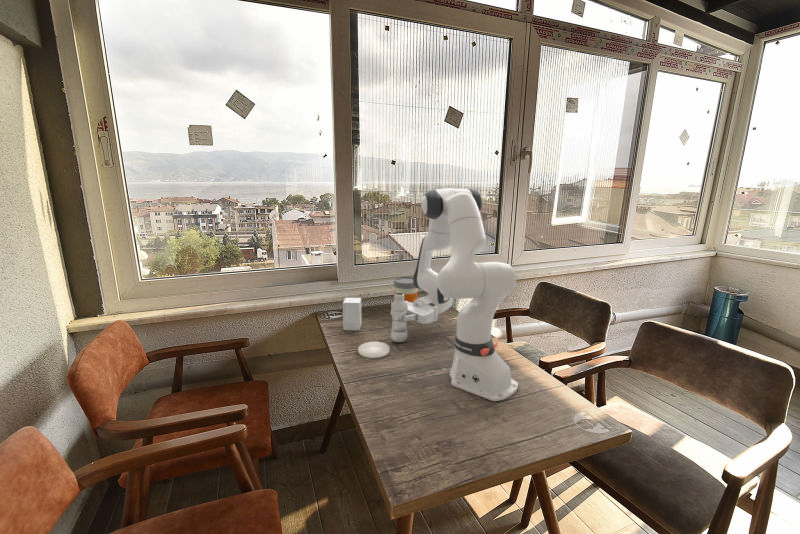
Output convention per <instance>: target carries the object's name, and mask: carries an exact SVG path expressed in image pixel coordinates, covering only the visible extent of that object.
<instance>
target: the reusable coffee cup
mask: <svg viewBox="0 0 800 534" xmlns="http://www.w3.org/2000/svg"><path fill="white" fill-rule="evenodd" d="M393 287H394V290H393V294H394V296H395V293H404V301H408V302H411V303H413V302H414V300H416V299H418V294H419V289H418V288H416V287H415V286H414V283H413V276H399V277H396V278H394V279H393Z"/></svg>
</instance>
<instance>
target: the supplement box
mask: <svg viewBox="0 0 800 534" xmlns="http://www.w3.org/2000/svg"><path fill="white" fill-rule="evenodd" d="M342 323H343V324H342V326H343V327H342V330H343V331H357V330H358V331H361V326H362V297H345V298H344V299H343V302H342Z"/></svg>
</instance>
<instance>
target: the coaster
mask: <svg viewBox="0 0 800 534" xmlns="http://www.w3.org/2000/svg"><path fill="white" fill-rule="evenodd" d="M390 349H391V348H390V346H389V344H387V343H385V342H383V341H381V342H380V341H368V342H364V343H362V344H360V345H359V346H358V348H357V351H358V355H360V356H362V357H364V358H368V359H380V358H383V357H386V356H388V355H389V354H390V351H391V350H390Z"/></svg>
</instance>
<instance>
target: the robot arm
mask: <svg viewBox="0 0 800 534" xmlns="http://www.w3.org/2000/svg"><path fill="white" fill-rule="evenodd" d="M482 207H483V198H482V195H481V193H480V192H479V190H477V189H475V188H453V187H449V188H440V189H439V188H438V189H430V190H429V189H428V190H427V191H425V192H424V193H423V194H422V198H421V210H422V214H423V215H424V216H425V218H427V219H429V221H428V231H427V234H426V235H425V236H424V237H423V238H422V240H421V243H420V247H419V251H418V256H417V257H418V259H417V263H416V267H415V268H416V269H415V271H414V273H413V275H412V277H413V283H414V286H415V287H416V288H418V290H421V291H423V292H425V293H427V295H426V296H422V297H419V298H418V297H417V299H416V300H414V302H413V303H411V302H408V301H405V302H406V303H407V306H408V309H407V315H405V316H403V320H404V321H406V322H408V321H415V322H418V323H420V324H423V325H427V324H431V323H433V322H434V323H435V322H437V321H438V316H439V314H442V313H444V312H446V311H447V310H449V309H450V308H451V307H452V305H453V302H454V301H453V300H454V299H457V300H458V299H459V300H463V299H465V300H466V299H471V301H470V302H469V303H468V304H466V305H464V307H462V308H461V309H460V310H459V312H458V314H457V317H456V318H457V319H456V320H457V321H456V334H455V335H454V349H455V350H454V356H453V361H452V365H451V368H450V371H449V376H450V379H451V383H450V384H451V386H453V387H455V388H457V389H460V390H463V391H465V392H468V393H471V394H473V395H476V396H477V397H482V398H484V399H487V400H489V401H491V402H498V401H504V400H505V399H508V398H510V397H511V396H513V395H514V394H516V393H517V391H518V389H519V382H518V381H516V380H514V379H513V378H512V374H511V373H512V372H511V368H510V366H509V365H508V364H507V363H506V361H504V360H503V359H502V357H501V356H500V355H499V354H498V352H497V351H496V348H497V347H498V344H499V343H498V342H496V343H495V344H494V341H493V339H492V328H493V321H494V317H495V314H496V311H497V309H498V307H499V306H500V304H501V302H503V299H504V298H505V297H506V296H508V295H509V294H510V293H511V292H513V290H514V289H515V287H516V285H517V274H516V271H515V269H514V268H513V266H512V265H510V264H509V263H504V262H499V261H487V262H476V261H475V255H477V254H478V253H479V252H481V251H482V250H483V249H484V248H485V245H486V242H487V238H486V231H485V229H484V223H483V219H482V216H481V212H482ZM450 247H451V253H450V257H449V259H448V261H447V263H446V264H445V265H444V266H443V267H441V269H440V270H439V272H436V271H434V270H433V269H432V268H431V262H432V257H433V253H434V252H435V251H437V252H438V251H443V250H446V249H448V248H449V249H450ZM391 306H392V303H391V305H390V307H391ZM390 310H391V309H390ZM390 315H391V316H392V310H391V311H390Z"/></svg>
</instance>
